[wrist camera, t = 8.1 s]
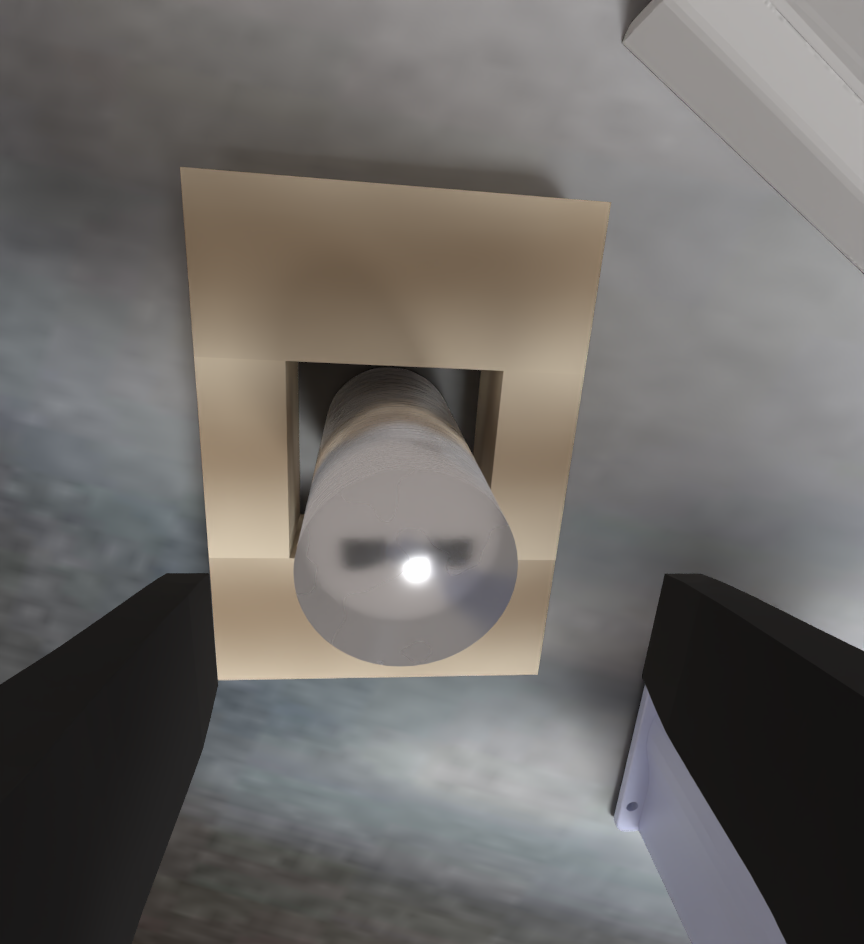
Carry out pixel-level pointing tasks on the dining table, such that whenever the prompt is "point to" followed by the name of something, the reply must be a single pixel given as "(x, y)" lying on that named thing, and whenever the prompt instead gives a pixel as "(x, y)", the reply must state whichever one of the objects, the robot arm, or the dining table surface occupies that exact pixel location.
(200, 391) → the hole plate
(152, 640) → the robot arm
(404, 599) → the tall pin
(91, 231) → the dining table surface
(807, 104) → the white slotted housing
